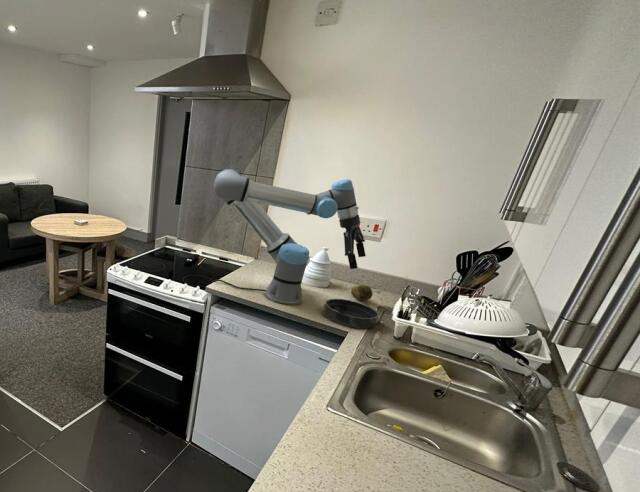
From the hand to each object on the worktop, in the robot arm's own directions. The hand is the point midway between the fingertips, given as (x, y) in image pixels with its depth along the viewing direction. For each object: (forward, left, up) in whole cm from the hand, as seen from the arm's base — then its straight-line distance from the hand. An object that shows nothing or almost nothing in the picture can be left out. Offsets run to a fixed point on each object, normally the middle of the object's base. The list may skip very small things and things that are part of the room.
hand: (358, 262), depth 173 cm
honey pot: (-11, +17, -17) cm, 26 cm away
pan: (-6, -25, -17) cm, 31 cm away
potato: (+5, 0, -17) cm, 18 cm away
